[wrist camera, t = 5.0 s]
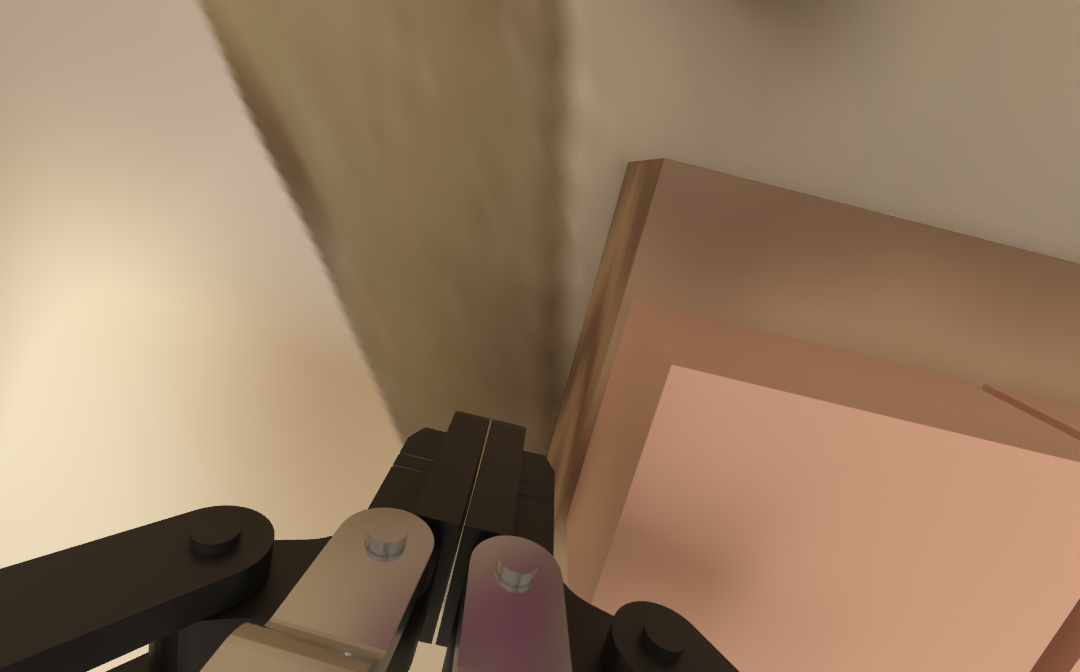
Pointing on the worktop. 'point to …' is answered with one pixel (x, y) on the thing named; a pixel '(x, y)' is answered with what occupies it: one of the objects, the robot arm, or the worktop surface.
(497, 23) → the worktop surface
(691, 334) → the pink rectangular block
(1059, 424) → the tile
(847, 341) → the brown wooden block
